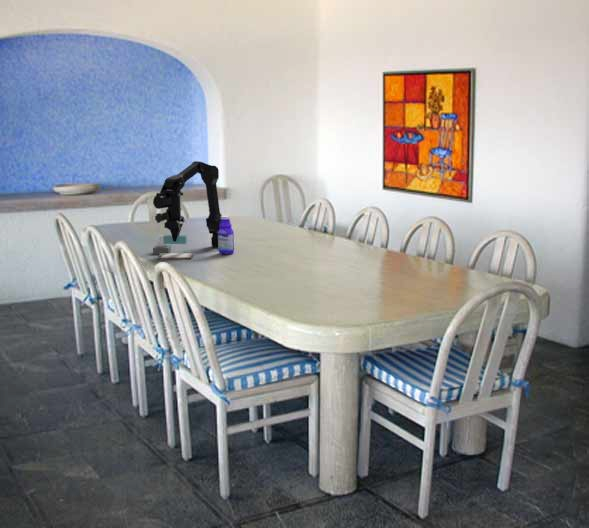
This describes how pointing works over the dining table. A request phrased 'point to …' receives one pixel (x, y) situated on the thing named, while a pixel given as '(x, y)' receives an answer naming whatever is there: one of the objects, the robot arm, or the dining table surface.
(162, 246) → the button
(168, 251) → the button base
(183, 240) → the teal and white bar
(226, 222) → the bottle
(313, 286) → the dining table surface
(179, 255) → the wooden picture frame
